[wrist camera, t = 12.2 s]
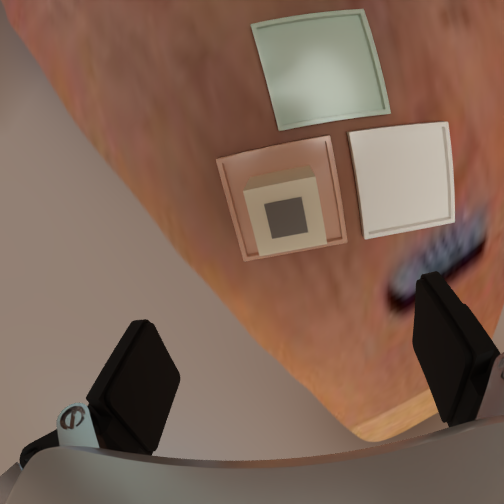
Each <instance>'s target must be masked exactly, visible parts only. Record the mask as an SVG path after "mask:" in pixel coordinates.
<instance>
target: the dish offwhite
mask: <svg viewBox="0 0 504 504" xmlns="http://www.w3.org/2000/svg"><path fill="white" fill-rule="evenodd" d="M347 137H348V142H349V147H350V153H351V158H352V164H353V170H354V176H355V183H356V190H357V197H358V204H359V212H360V220H361V228H362V236H363V237H364V239H370V238H376V237H381V236H386V235H391V234H397V233H402V232H407V231H412V230H418V229H423V228H428V227H433V226H439V225H444V224H449V223H454V222H455V198H454V176H453V162H452V151H451V142H450V133H449V126H448V122H446V121H438V122H425V123H413V124H403V125H394V126H385V127H377V128H369V129H362V130H355V131H348V132H347Z"/></svg>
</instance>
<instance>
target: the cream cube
mask: <svg viewBox="0 0 504 504" xmlns="http://www.w3.org/2000/svg"><path fill="white" fill-rule="evenodd" d="M243 193H244V197H245V201H246V205H247V209H248V213H249V217H250V221H251V224H252V228H253V232H254V236H255V240H256V244H257V248H258V252H259V256H265V255H270V254H276V253H281V252H287V251H292V250H298V249H303V248H309V247H314V246H319V245H325V244H327V240H326V233H325V227H324V221H323V215H322V209H321V204H320V198H319V193H318V187H317V182H316V177H315V175H314V173H313V171H312V169H311V168H310V166H309V165H307V166H301V167H296V168H291V169H286V170H281V171H276V172H271V173H266V174H262V175H257V176H253V177H250V178H249V180H248V182H247V184H246V186H245V188H244V190H243Z"/></svg>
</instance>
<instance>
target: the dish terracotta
mask: <svg viewBox="0 0 504 504" xmlns="http://www.w3.org/2000/svg"><path fill="white" fill-rule="evenodd" d="M216 163H217V167H218V170H219V174H220V178H221V181H222V185H223V189H224V192H225V196H226V199H227V203H228V207H229V210H230V214H231V217H232V221H233V225H234V228H235V232H236V235H237V239H238V243H239V246H240V250H241V253H242V257H243V260H244V262H245V261H251V260H256V259H262V258H267V257H273V256H278V255H284V254H289V253H295V252H300V251H306V250H311V249H317V248H322V247H327V246H333V245H338V244H344V243H348V242H347V234H346V227H345V220H344V213H343V206H342V199H341V193H340V187H339V181H338V175H337V170H336V164H335V159H334V154H333V148H332V143H331V138H330V135H323V136H318V137H312V138H307V139H301V140H296V141H291V142H286V143H281V144H276V145H271V146H267V147H262V148H258V149H253V150H249V151H245V152H240V153H236V154H232V155H228V156H224V157H220V158H217V159H216ZM307 165H309V166H310V168H311V169H312V171H313V173H314V175H315V177H316V182H317V187H318V193H319V198H320V204H321V209H322V215H323V221H324V227H325V233H326V240H327V244H325V245H319V246H314V247H309V248H303V249H298V250H292V251H287V252H281V253H276V254H270V255H265V256H259V252H258V248H257V244H256V240H255V236H254V232H253V228H252V224H251V221H250V217H249V213H248V209H247V205H246V201H245V197H244V193H243V190H244V188H245V186H246V184H247V182H248V180H249V178H250V177H253V176H257V175H262V174H266V173H271V172H276V171H281V170H286V169H291V168H296V167H301V166H307Z"/></svg>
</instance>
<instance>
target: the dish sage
mask: <svg viewBox="0 0 504 504" xmlns="http://www.w3.org/2000/svg"><path fill="white" fill-rule="evenodd" d="M250 25H251V28H252V32H253V35H254V38H255V42H256V45H257V49H258V53H259V56H260V60H261V63H262V67H263V71H264V74H265V78H266V82H267V86H268V90H269V94H270V97H271V101H272V105H273V109H274V113H275V117H276V121H277V126H278V130H279V131H282V130H287V129H292V128H297V127H302V126H308V125H313V124H319V123H325V122H331V121H338V120H344V119H351V118H358V117H366V116H374V115H383V114H391V111H390V106H389V101H388V96H387V91H386V87H385V82H384V78H383V74H382V70H381V66H380V62H379V58H378V54H377V51H376V47H375V44H374V40H373V37H372V33H371V30H370V27H369V24H368V21H367V18H366V15H365V12H364V9H354V10H340V11H329V12H319V13H311V14H304V15H297V16H291V17H285V18H279V19H274V20H269V21H264V22H259V23H254V24H250Z"/></svg>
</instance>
